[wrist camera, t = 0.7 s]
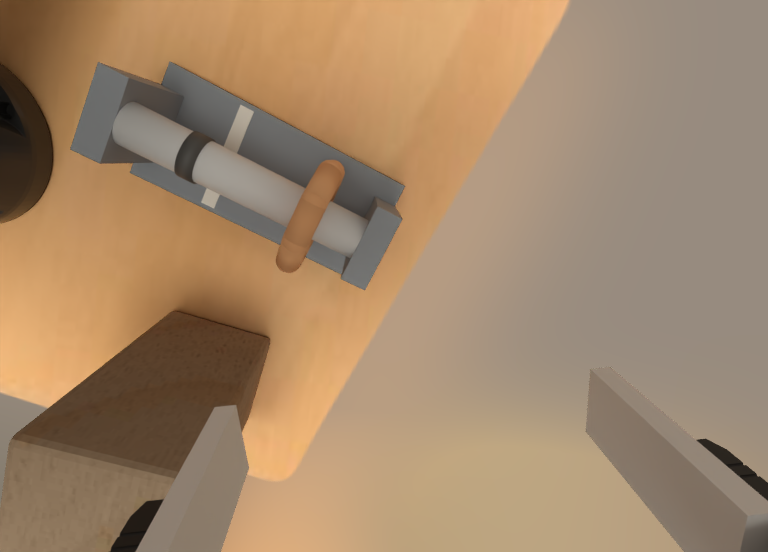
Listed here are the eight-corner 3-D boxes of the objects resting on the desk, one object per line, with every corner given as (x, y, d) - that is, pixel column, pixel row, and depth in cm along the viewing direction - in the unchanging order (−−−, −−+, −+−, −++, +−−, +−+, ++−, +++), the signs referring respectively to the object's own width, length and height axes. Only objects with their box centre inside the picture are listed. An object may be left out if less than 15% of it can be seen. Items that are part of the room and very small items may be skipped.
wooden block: (272, 337, 43) (195, 483, 23) (247, 419, 45) (159, 613, 26) (172, 308, 42) (4, 437, 22) (153, 394, 44) (-14, 578, 25)
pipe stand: (135, 172, 38) (59, 176, 29) (174, 64, 36) (106, 30, 26) (356, 278, 41) (353, 313, 32) (404, 185, 39) (415, 194, 30)
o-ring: (286, 249, 37) (262, 276, 28) (330, 155, 35) (318, 154, 26) (305, 258, 37) (287, 288, 29) (350, 166, 35) (344, 168, 27)
